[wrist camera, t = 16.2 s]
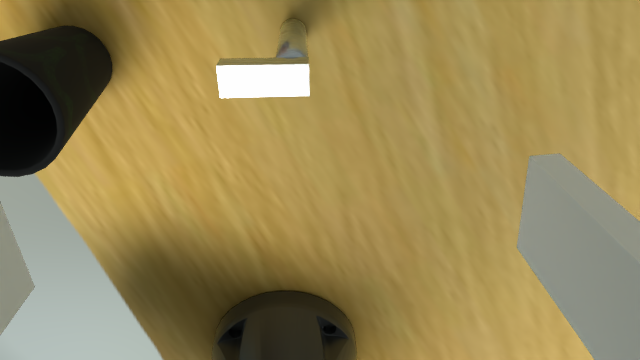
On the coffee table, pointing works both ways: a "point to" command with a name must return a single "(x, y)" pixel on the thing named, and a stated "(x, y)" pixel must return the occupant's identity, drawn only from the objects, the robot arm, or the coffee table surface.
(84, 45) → the cup
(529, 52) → the coffee table surface
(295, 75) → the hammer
